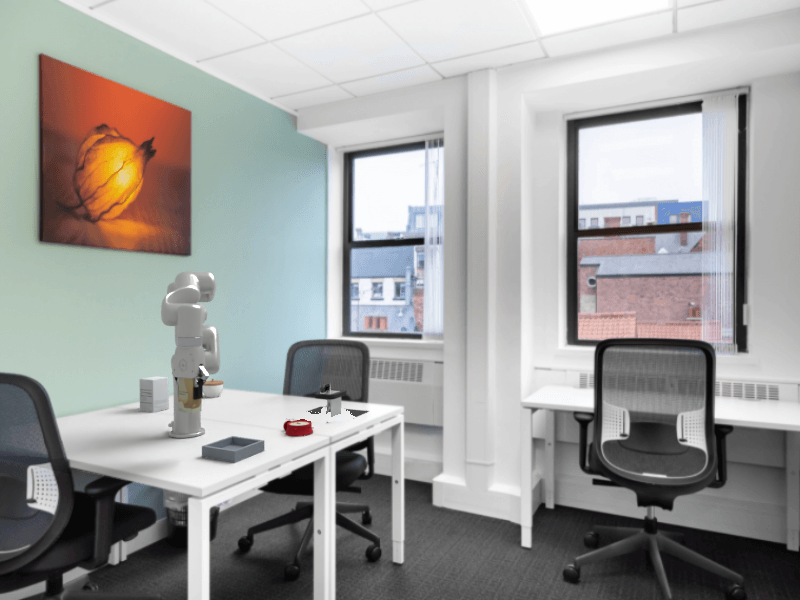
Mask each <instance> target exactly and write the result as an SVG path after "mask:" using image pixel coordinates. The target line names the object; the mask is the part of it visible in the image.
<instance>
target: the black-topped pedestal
mask: <svg viewBox="0 0 800 600" xmlns="http://www.w3.org/2000/svg"><path fill="white" fill-rule="evenodd" d="M331 388H332V387H331V383H330V382H329V383H327V384H323V386H321V385H319V391H318V392H316V393H315V394H314V398H315V399H320V400H326V404H325V407H327V411H326V414H327V413H328V412H331V417H333V416H335V415H338V414H341V408H342V397H344V396H347V390H344V389H343V390H342V389H331ZM323 407H324V406H319V407H315V408H313V409H310V410H307V411H308V412H310V413H311V414H319V413H321V409H322V408H323ZM345 409H346V411H347V410H348V411H350V414H351V413H352V414H351V415H353V416H355V417H356V418H358V417H360V416H362V415H364V414H365V415H366V414H367V413H369V412H370V410H364V409H362V410H361V409H351V408H345ZM311 411H312V412H311ZM315 412H316V413H315ZM318 412H319V413H318Z"/></svg>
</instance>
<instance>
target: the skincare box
mask: <svg viewBox="0 0 800 600" xmlns="http://www.w3.org/2000/svg"><path fill="white" fill-rule="evenodd" d="M199 376H200V375H198V376H197V377H199ZM197 381H199V379H197ZM194 387H195V385H194V379H186V378H179V385H178V412H183V413H190V414H193V413H197V412H200V411H201V412H202V406H203V405H202V402H203V401H202V400H203V398H201V399H196V400H194V399H193V388H194Z"/></svg>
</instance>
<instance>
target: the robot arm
mask: <svg viewBox="0 0 800 600" xmlns="http://www.w3.org/2000/svg"><path fill="white" fill-rule="evenodd" d="M216 290H217V280H216V277H215V275H214V274H213V273H212V272H209V271H195V270H194V271H193V270H192V271H189V270H188V271H187V270H186V271H181V272H179V273H178V274H177V275H176V276H175V278H174V281H173V282H170V283H169V284H168V285H167V288H166V295H165V296H164V297H163V299H162V302H161V305H160V308H161V309H160V310H161V311H160V319H161V322H162V323H163V324H164V325H165V326H169V327H174V343H175V346H176V347H175V350H174V353H173V354H172V356H171V358H170V366H171V375H172V382H173V385H172V387H173V420H171V421H170V422H169V423H168V424H167V427H168V428H172V429H171V431H169V433H168V435H169V436H170V437H171V438H176V439H184V438H185V439H187V438H193V437H194V438H195V437H199V436H202V435H204V434H205V433H206V429H205V428H204V427H201V426H202V423H201V420H202V419H201V416H202V415H201V413H202V410H201V411H200V412H197V413H193V414H190V413H183V412H178V385H179V378H186V379H194V385H195V387H194V388H193V399H194V400H196V399H201V398H202V399H203V395H204V393H203V386H204V383H205V382H206V381H208V379H209V378H210V376H211V375H216V374H218V373H219V372H220V369H221V354H220V353H221V352H220V351H221V350H220V336H219V332H218V329H217V327H216V326H215V325H212V324H205V322H206V321H207V319H208V310H207V308H206V306H204V304H202V303H210V302H212V301H213V300H214V298H215V293H216ZM198 375H200V376H199V377H197V376H198ZM197 379H199V381H197Z"/></svg>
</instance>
